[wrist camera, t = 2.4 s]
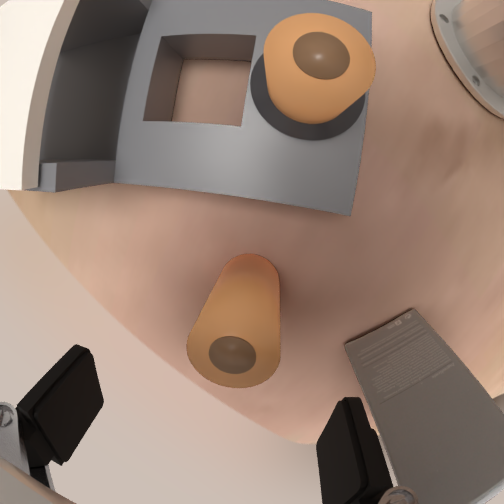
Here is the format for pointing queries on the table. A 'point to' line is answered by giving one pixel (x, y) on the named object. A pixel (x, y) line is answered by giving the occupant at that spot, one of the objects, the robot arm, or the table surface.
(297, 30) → the housing
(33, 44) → the lid
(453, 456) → the skincare box
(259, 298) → the peg
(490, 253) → the table surface
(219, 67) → the table surface
